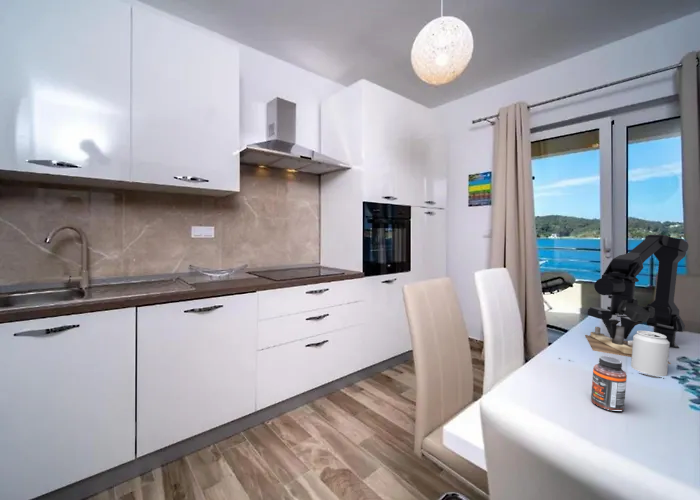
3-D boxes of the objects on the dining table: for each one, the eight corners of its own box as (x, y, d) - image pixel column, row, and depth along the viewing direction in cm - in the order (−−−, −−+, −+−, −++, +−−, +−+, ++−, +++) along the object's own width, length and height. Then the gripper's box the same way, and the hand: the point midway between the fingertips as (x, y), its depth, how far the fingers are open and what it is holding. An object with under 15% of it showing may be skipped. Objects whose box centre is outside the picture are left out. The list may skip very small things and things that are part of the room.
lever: (588, 335, 117) (589, 316, 116) (599, 336, 116) (600, 317, 116) (623, 353, 99) (624, 331, 99) (636, 354, 99) (638, 331, 98)
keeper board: (584, 337, 119) (585, 325, 118) (651, 347, 109) (652, 334, 108) (592, 353, 102) (593, 339, 102) (672, 367, 92) (673, 352, 92)
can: (674, 381, 83) (678, 338, 83) (642, 378, 85) (646, 336, 84) (653, 369, 91) (656, 330, 90) (624, 366, 92) (627, 328, 92)
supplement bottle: (584, 399, 73) (587, 354, 73) (606, 398, 74) (609, 353, 73) (607, 414, 67) (610, 364, 67) (631, 413, 68) (635, 364, 67)
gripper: (614, 298, 96) (610, 345, 97) (675, 301, 95) (669, 348, 96) (588, 291, 107) (584, 334, 108) (642, 293, 106) (637, 336, 107)
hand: (618, 338), depth 105 cm, fingers open, 4 cm apart
